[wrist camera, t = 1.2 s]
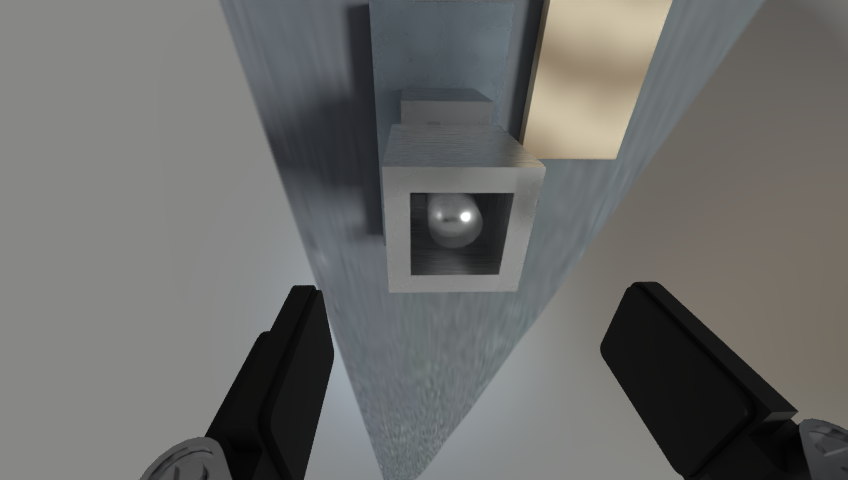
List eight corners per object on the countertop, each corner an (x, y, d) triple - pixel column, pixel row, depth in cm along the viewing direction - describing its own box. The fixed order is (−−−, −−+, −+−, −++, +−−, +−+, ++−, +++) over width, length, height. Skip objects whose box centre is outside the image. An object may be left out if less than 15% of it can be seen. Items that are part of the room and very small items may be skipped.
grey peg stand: (372, 3, 20) (319, -55, 9) (506, 6, 21) (632, -44, 9) (385, 234, 30) (369, 357, 18) (476, 234, 30) (518, 354, 19)
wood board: (557, -75, 19) (565, -82, 18) (684, -70, 19) (699, -76, 18) (516, 154, 26) (520, 158, 25) (607, 154, 27) (615, 159, 26)
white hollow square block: (392, 124, 17) (381, 166, 11) (499, 125, 17) (546, 167, 11) (395, 219, 20) (389, 292, 14) (486, 219, 20) (516, 291, 14)
